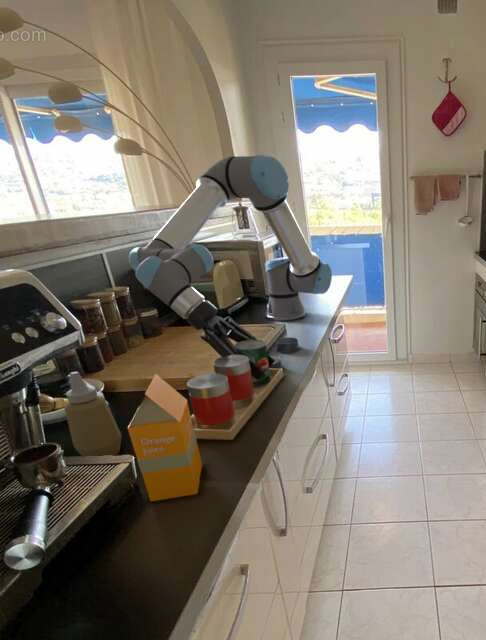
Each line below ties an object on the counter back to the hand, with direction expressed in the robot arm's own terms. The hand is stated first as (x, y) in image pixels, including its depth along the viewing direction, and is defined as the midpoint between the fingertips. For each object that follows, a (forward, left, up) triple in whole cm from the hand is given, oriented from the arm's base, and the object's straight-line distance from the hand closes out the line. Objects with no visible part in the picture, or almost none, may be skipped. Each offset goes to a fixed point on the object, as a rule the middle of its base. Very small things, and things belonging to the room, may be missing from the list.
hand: (266, 370), depth 119 cm
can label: (+12, -3, -4) cm, 13 cm away
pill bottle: (+26, -28, -5) cm, 39 cm away
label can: (+24, -3, -4) cm, 25 cm away
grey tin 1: (-11, -3, -4) cm, 12 cm away
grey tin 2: (-29, -3, -4) cm, 29 cm away
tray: (+12, -3, -4) cm, 13 cm away
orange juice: (+44, -1, -5) cm, 45 cm away
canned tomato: (0, -3, -4) cm, 5 cm away
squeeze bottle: (+36, -21, -5) cm, 43 cm away
